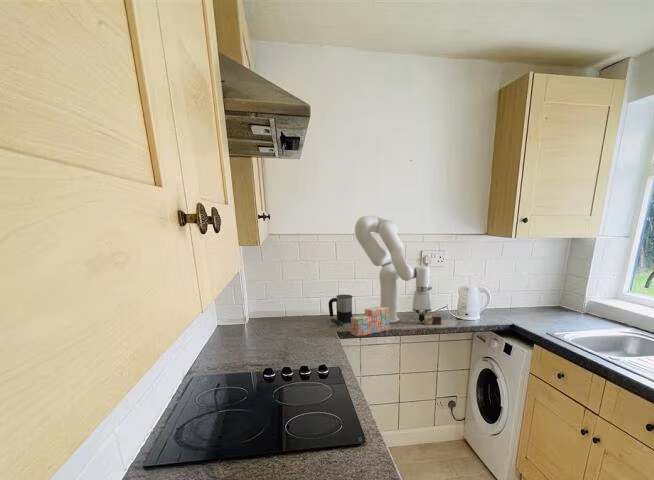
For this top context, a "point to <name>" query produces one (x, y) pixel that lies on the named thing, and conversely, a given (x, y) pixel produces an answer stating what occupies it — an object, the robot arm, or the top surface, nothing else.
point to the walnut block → (436, 319)
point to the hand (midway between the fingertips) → (421, 321)
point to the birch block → (428, 320)
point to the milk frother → (341, 309)
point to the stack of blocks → (371, 321)
